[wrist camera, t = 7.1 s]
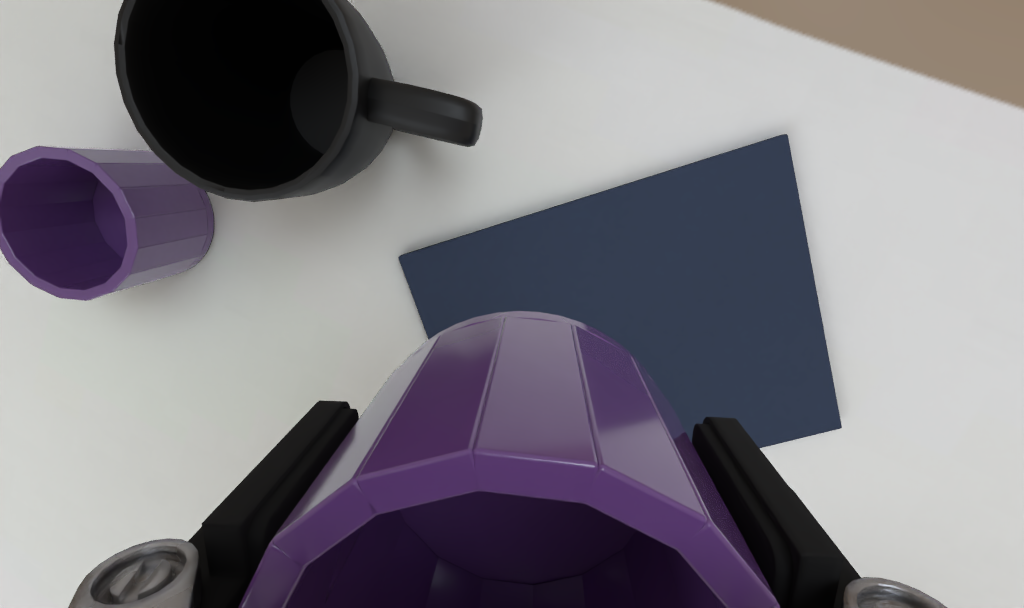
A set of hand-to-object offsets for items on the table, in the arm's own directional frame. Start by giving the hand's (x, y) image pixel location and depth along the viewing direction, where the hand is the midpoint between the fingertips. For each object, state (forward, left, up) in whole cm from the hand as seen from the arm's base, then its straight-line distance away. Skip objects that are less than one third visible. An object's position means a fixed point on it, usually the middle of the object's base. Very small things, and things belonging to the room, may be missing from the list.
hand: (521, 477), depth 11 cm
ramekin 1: (+18, -10, -18) cm, 27 cm away
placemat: (-4, +4, -18) cm, 19 cm away
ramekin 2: (0, 0, -1) cm, 1 cm away
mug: (+5, -11, -18) cm, 22 cm away
